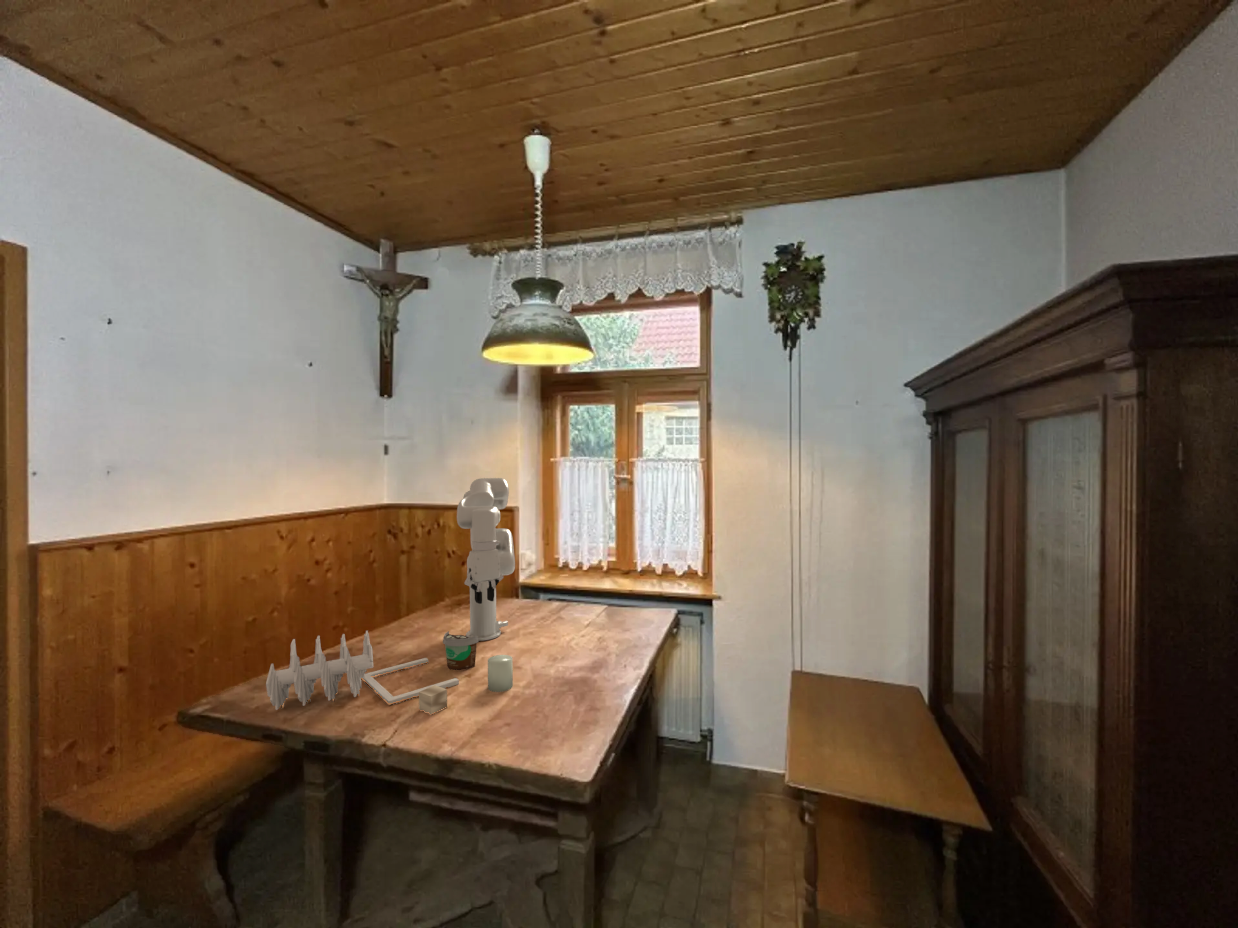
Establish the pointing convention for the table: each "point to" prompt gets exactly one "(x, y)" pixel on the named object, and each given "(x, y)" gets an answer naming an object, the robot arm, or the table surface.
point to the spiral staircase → (319, 673)
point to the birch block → (433, 699)
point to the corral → (391, 699)
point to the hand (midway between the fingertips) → (484, 601)
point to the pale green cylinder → (500, 673)
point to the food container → (460, 651)
